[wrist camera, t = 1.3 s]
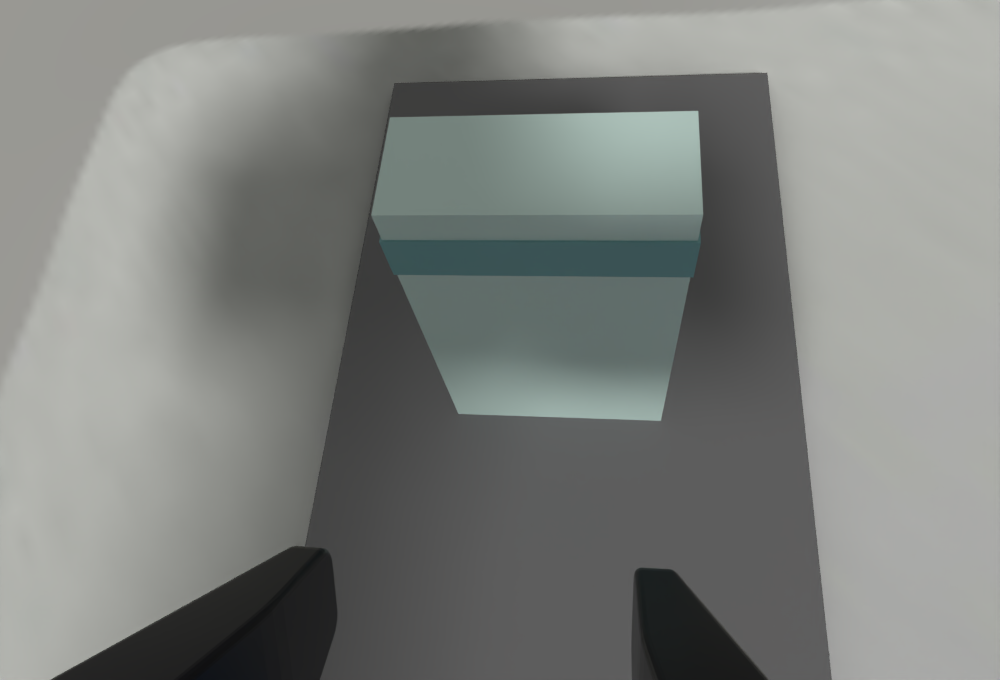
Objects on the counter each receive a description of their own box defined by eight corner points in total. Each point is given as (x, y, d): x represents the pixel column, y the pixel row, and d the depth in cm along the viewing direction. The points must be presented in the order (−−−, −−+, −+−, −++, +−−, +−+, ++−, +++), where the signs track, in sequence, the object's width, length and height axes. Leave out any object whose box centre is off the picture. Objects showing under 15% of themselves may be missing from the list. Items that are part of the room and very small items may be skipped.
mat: (847, 884, 17) (854, 888, 17) (260, 818, 19) (252, 820, 19) (764, 83, 28) (767, 73, 28) (397, 92, 30) (394, 83, 30)
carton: (662, 422, 22) (706, 216, 13) (456, 415, 23) (368, 217, 14) (661, 345, 23) (700, 108, 14) (465, 341, 24) (387, 115, 15)
